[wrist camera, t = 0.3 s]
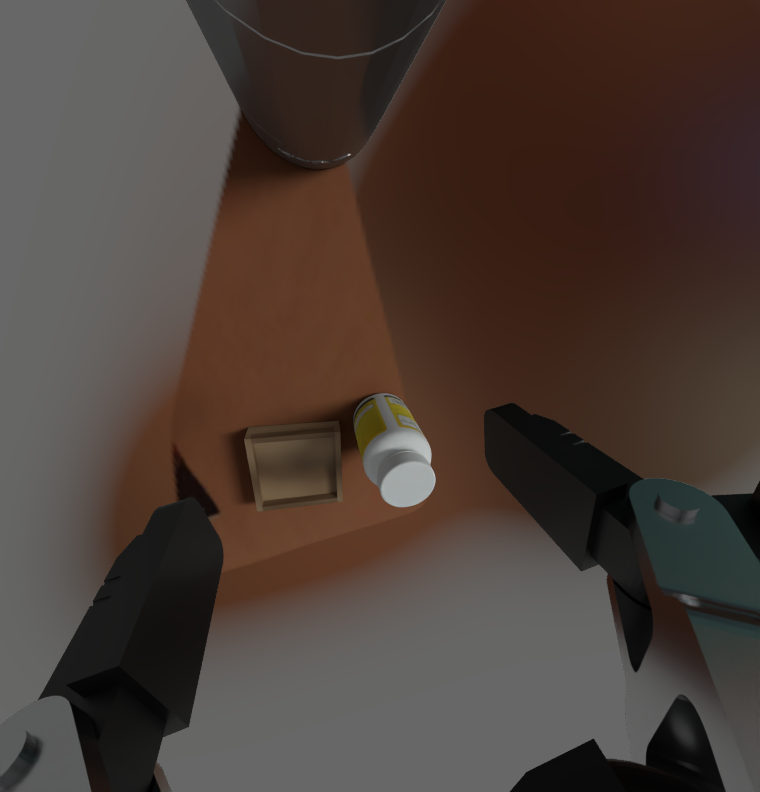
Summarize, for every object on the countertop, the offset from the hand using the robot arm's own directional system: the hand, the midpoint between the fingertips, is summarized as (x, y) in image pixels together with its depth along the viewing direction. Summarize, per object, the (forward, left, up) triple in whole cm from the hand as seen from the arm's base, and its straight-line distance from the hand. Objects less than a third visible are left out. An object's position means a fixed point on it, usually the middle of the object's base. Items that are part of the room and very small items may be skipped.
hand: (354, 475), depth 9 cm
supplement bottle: (+9, +5, -19) cm, 22 cm away
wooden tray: (+13, -3, -19) cm, 23 cm away
